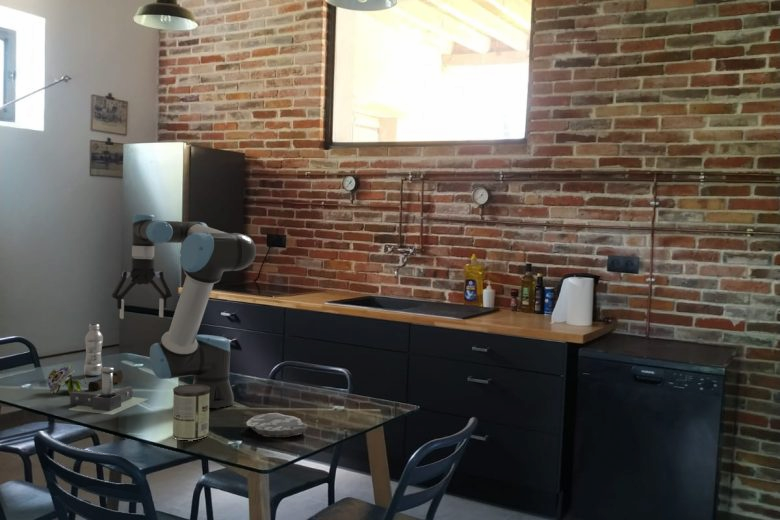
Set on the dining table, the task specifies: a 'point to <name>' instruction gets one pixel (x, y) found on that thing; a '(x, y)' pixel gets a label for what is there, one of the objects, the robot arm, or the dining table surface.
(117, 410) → the mat
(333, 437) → the dining table surface
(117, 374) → the hand tool
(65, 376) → the passion flower
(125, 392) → the bolted dark bar
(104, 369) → the hinge pin
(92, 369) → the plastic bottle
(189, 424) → the coffee can
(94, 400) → the hinge base
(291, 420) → the brain slice
